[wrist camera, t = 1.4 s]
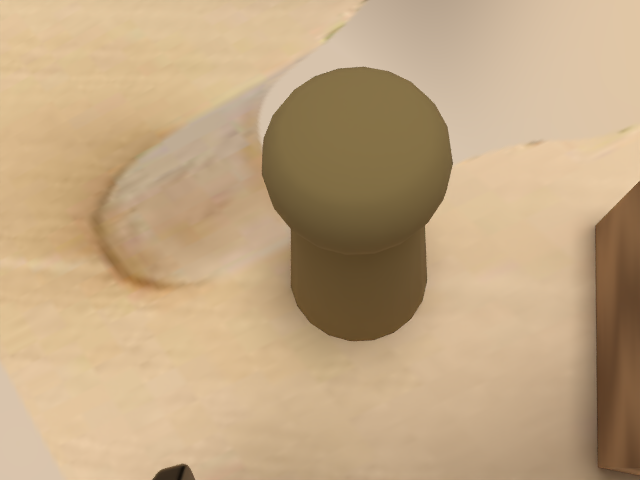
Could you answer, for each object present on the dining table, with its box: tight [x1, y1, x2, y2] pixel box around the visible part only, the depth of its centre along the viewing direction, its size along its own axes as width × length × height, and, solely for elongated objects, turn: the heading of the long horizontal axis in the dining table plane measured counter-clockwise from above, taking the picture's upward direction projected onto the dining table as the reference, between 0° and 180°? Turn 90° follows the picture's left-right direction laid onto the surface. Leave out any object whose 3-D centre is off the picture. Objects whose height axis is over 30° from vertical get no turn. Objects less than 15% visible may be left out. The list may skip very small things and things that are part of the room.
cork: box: [262, 67, 453, 341], centre depth 18 cm, size 6×6×11 cm
